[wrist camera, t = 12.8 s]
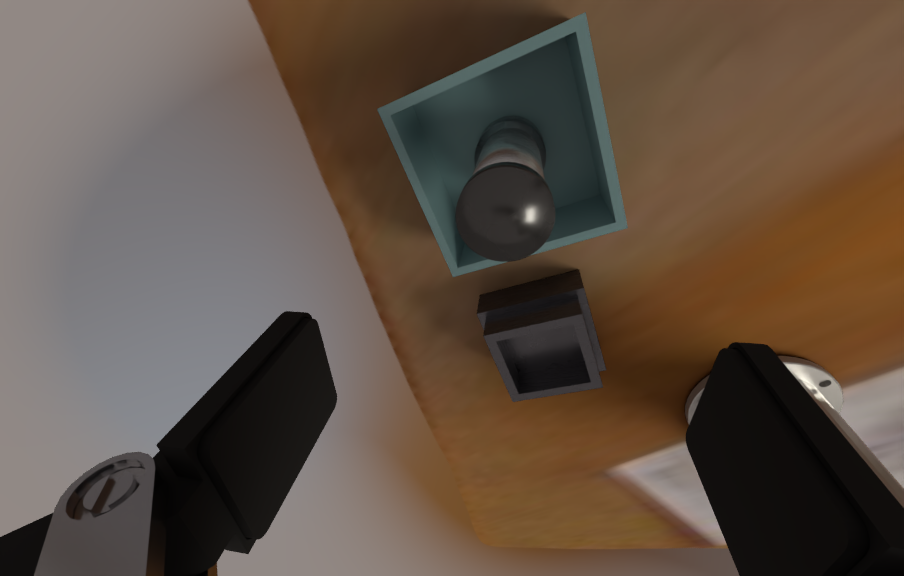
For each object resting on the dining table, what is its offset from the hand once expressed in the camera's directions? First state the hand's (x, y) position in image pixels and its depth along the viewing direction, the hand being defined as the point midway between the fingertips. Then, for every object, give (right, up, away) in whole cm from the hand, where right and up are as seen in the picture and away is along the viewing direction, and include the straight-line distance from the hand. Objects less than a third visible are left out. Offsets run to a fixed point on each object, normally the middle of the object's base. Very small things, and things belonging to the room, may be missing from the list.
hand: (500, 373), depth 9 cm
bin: (+3, +12, +19) cm, 23 cm away
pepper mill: (+3, +12, +19) cm, 22 cm away
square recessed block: (+7, -1, +27) cm, 28 cm away
